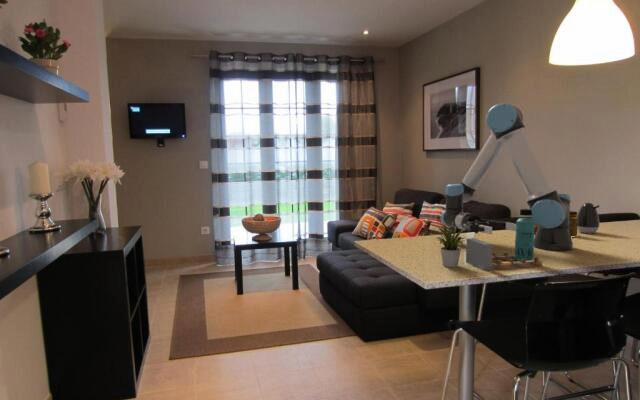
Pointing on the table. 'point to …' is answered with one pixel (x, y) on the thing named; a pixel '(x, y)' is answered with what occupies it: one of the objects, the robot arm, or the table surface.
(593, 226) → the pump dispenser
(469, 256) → the end block
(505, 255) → the wooden peg rack
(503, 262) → the band marker
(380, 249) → the table surface
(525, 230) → the beverage bottle
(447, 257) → the house plant
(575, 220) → the condiment
